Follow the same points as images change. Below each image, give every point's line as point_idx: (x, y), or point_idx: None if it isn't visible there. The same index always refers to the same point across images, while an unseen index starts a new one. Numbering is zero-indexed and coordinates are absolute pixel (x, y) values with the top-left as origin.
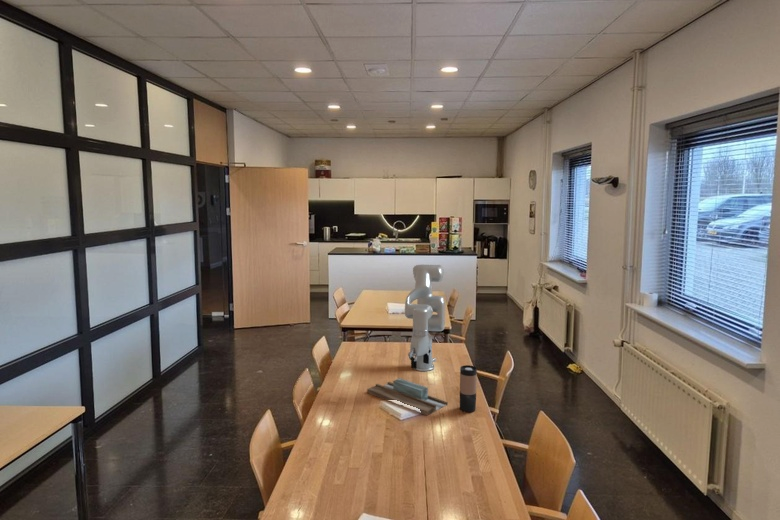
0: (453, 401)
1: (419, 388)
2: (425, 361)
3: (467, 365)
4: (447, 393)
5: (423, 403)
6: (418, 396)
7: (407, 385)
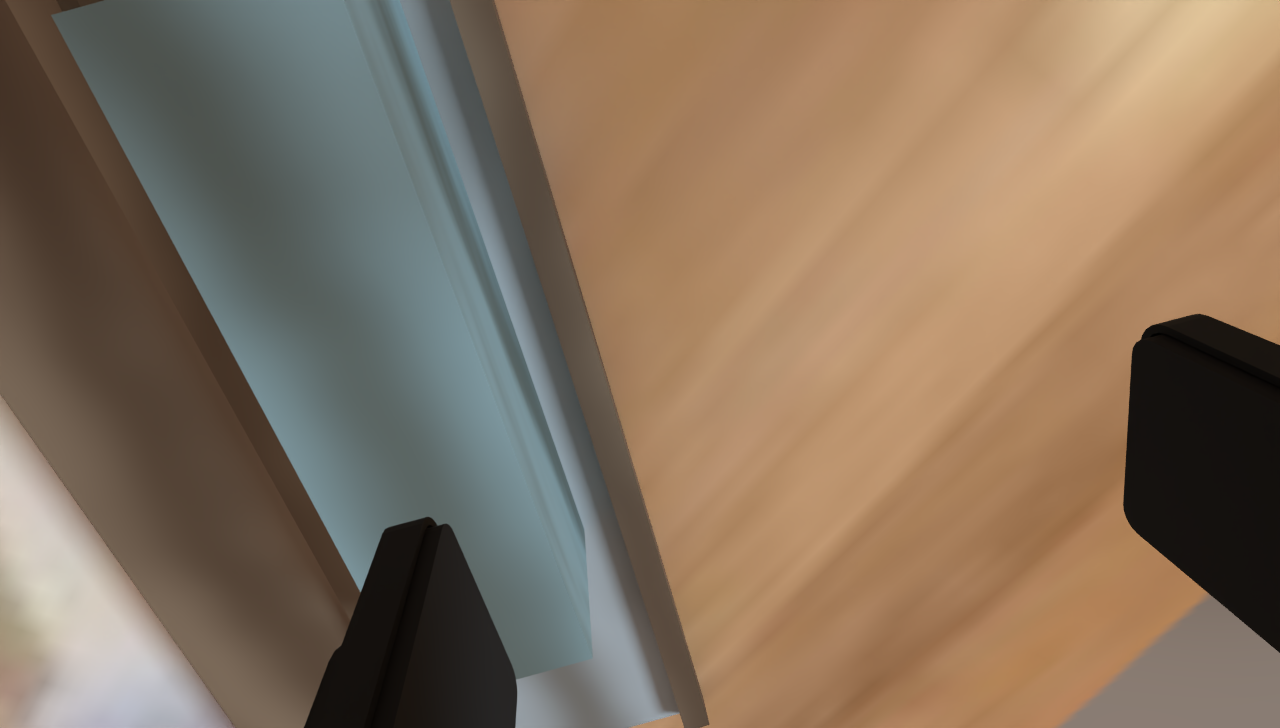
0: (817, 666)
1: None
2: (1182, 474)
3: None
4: (939, 478)
5: None
6: None
7: (296, 429)
